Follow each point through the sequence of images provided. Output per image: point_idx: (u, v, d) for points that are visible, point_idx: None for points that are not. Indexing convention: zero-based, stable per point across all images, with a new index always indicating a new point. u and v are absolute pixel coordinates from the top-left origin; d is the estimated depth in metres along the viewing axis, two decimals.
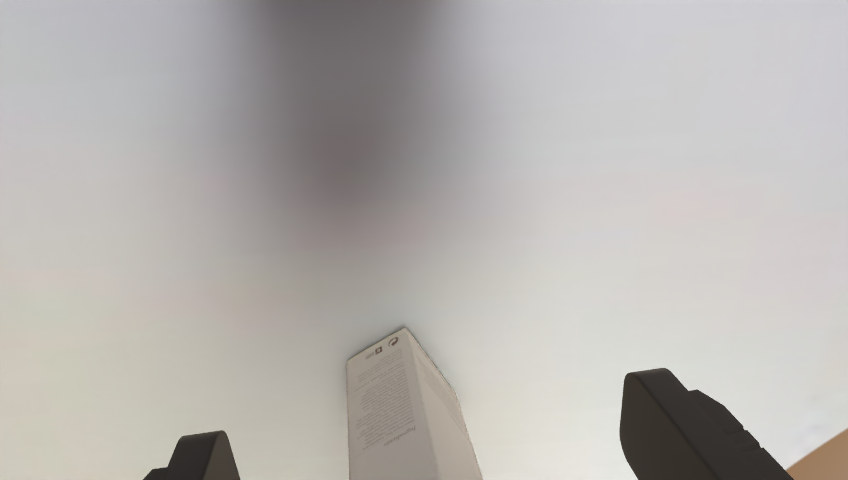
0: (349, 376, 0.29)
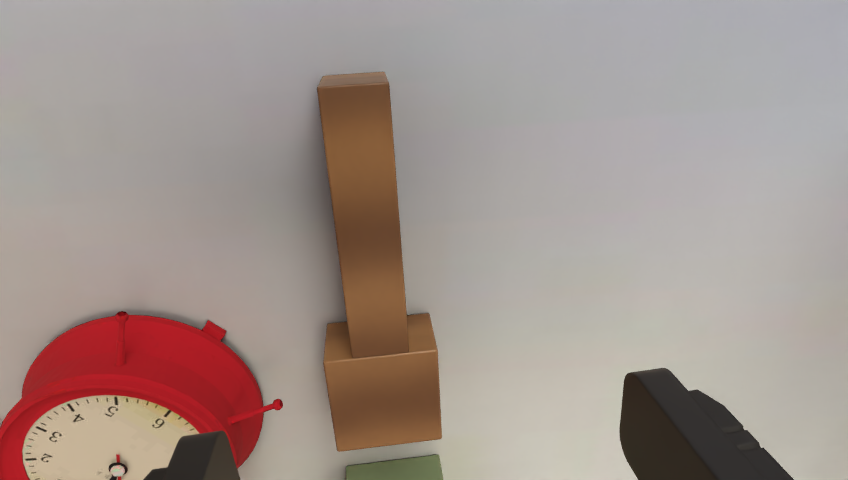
0: None
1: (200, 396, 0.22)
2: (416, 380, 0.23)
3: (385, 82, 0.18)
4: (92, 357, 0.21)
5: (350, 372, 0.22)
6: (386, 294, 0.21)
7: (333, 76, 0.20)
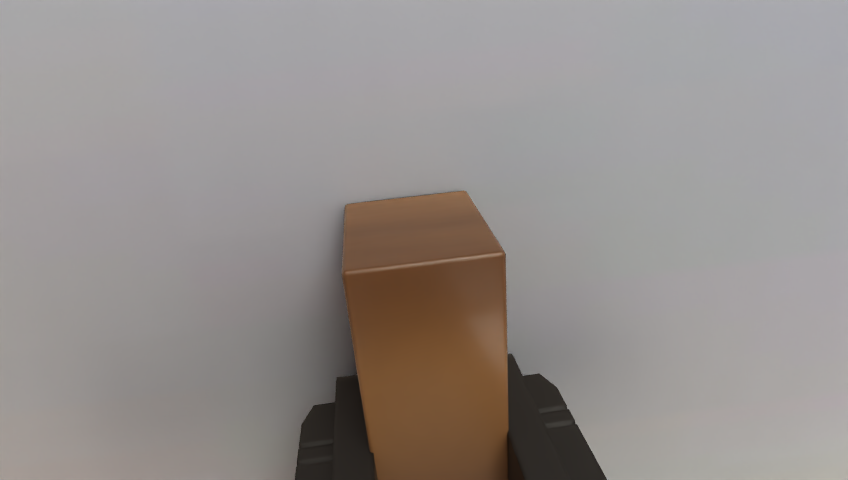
0: None
1: None
2: None
3: (498, 253, 0.08)
4: None
5: None
6: None
7: (368, 209, 0.10)
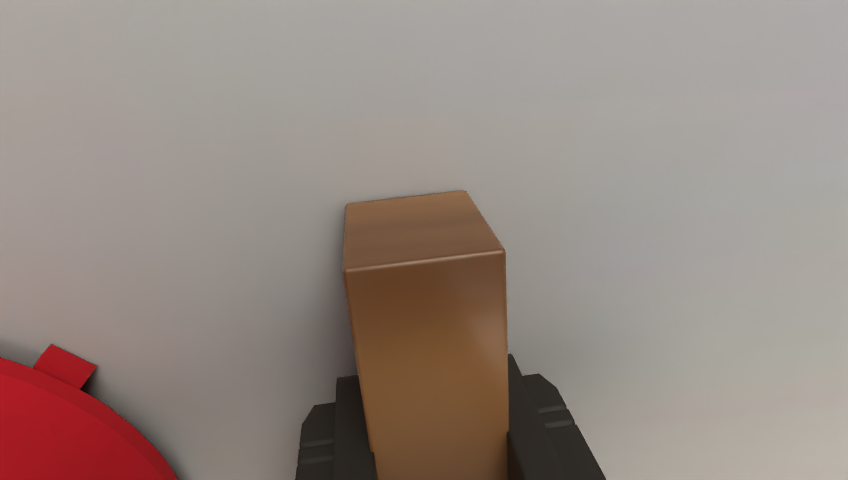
0: None
1: None
2: None
3: (498, 250, 0.08)
4: None
5: None
6: None
7: (368, 208, 0.10)
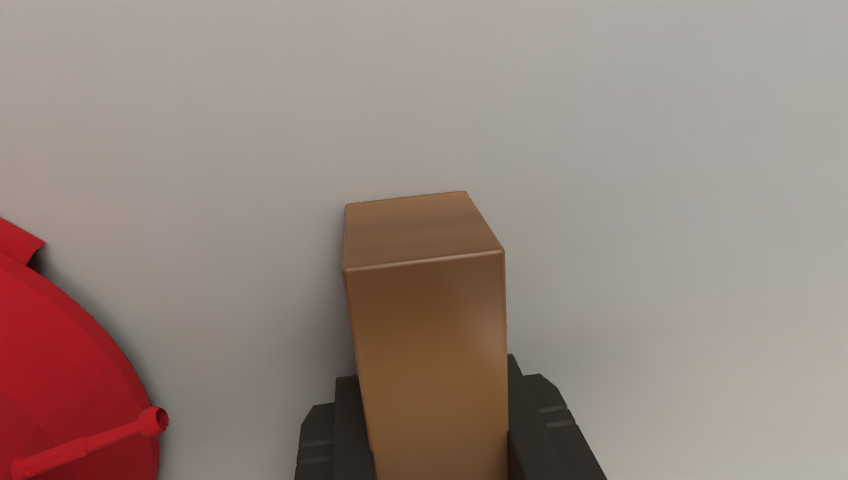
0: None
1: None
2: None
3: (497, 250, 0.08)
4: None
5: None
6: None
7: (368, 209, 0.10)
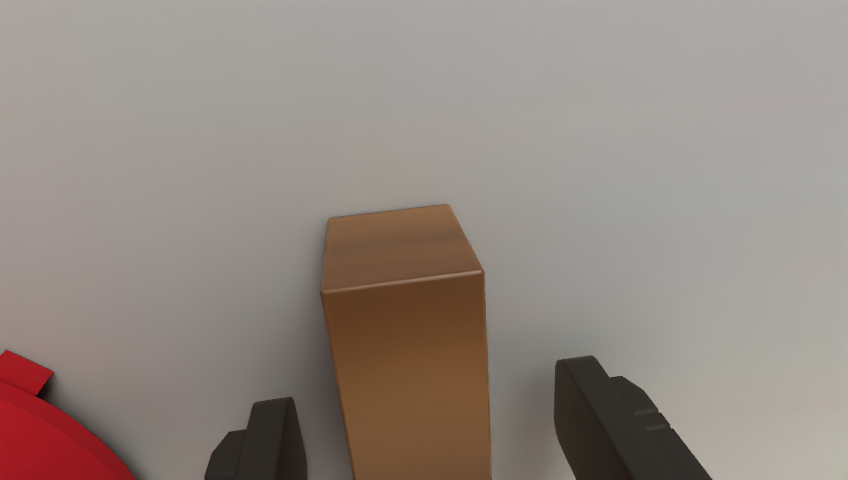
0: None
1: None
2: None
3: (477, 270, 0.08)
4: None
5: None
6: None
7: (350, 224, 0.10)
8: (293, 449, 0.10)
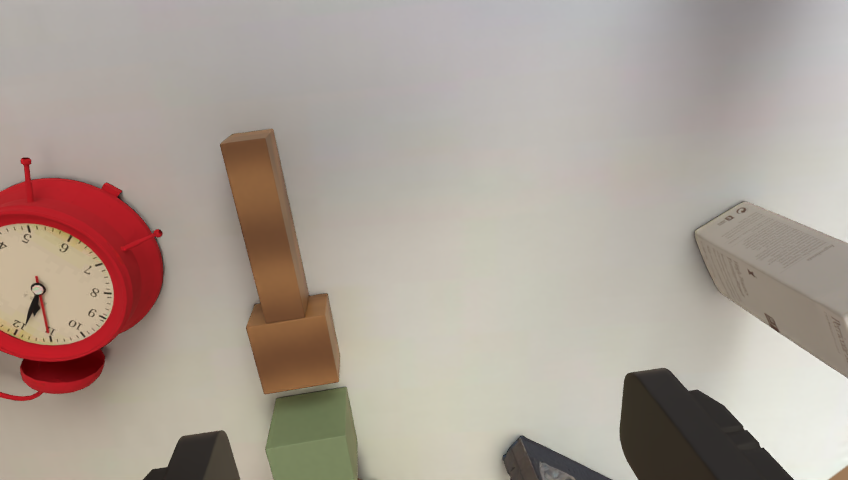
0: (710, 238, 0.35)
1: (94, 225, 0.28)
2: (313, 338, 0.33)
3: (263, 138, 0.28)
4: (11, 201, 0.28)
5: (265, 333, 0.32)
6: (283, 276, 0.31)
7: (237, 134, 0.30)
8: None
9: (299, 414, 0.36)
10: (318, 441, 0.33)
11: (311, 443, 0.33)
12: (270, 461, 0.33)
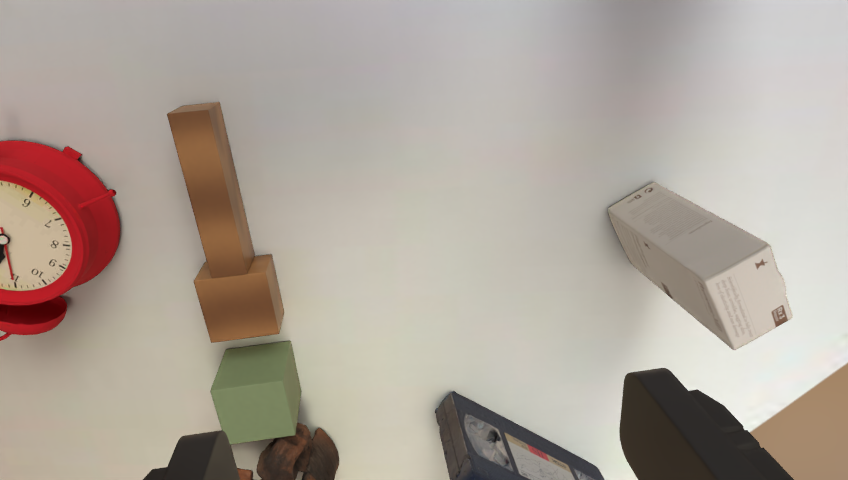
0: (618, 214, 0.39)
1: (53, 183, 0.32)
2: (255, 293, 0.36)
3: (206, 110, 0.31)
4: None
5: (211, 287, 0.36)
6: (227, 236, 0.35)
7: (186, 106, 0.34)
8: None
9: (245, 362, 0.39)
10: (258, 385, 0.37)
11: (252, 386, 0.37)
12: (215, 402, 0.37)
